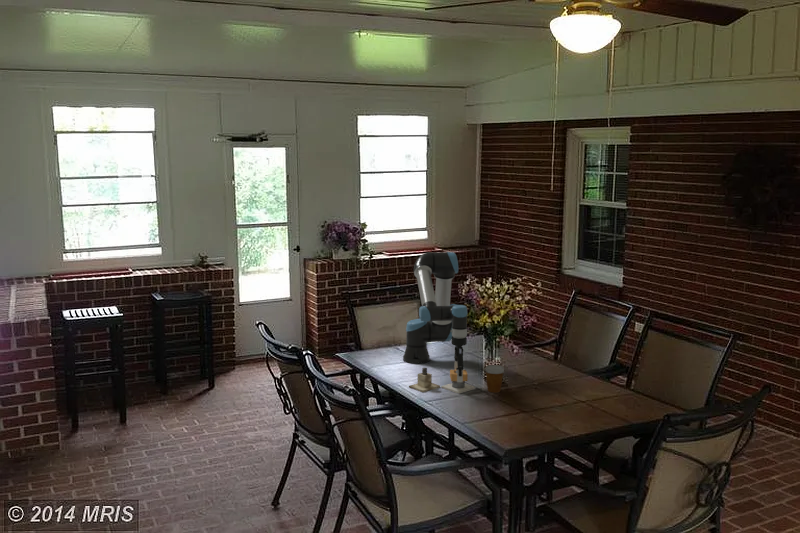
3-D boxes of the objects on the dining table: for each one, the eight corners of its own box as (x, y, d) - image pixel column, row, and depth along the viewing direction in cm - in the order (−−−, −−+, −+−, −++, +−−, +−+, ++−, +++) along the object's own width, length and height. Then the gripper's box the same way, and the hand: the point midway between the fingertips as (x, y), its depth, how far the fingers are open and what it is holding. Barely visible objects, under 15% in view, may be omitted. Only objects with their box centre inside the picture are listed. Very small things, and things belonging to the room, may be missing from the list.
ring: (449, 376, 371) (450, 369, 371) (465, 376, 371) (465, 369, 371) (451, 381, 363) (451, 374, 363) (467, 381, 363) (467, 374, 363)
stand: (426, 382, 377) (426, 364, 375) (440, 387, 369) (440, 368, 368) (408, 387, 369) (409, 368, 367) (422, 392, 361) (422, 372, 360)
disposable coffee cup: (503, 394, 359) (503, 370, 357) (483, 393, 361) (484, 369, 359) (504, 388, 368) (505, 365, 367) (485, 387, 370) (485, 364, 368)
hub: (458, 383, 376) (458, 364, 375) (475, 388, 367) (475, 369, 366) (441, 388, 369) (441, 368, 367) (458, 393, 360) (458, 374, 358)
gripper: (449, 330, 376) (448, 370, 380) (453, 343, 352) (453, 385, 355) (464, 330, 376) (463, 370, 380) (469, 342, 352) (468, 385, 355)
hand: (458, 377), depth 367 cm, fingers open, 13 cm apart
